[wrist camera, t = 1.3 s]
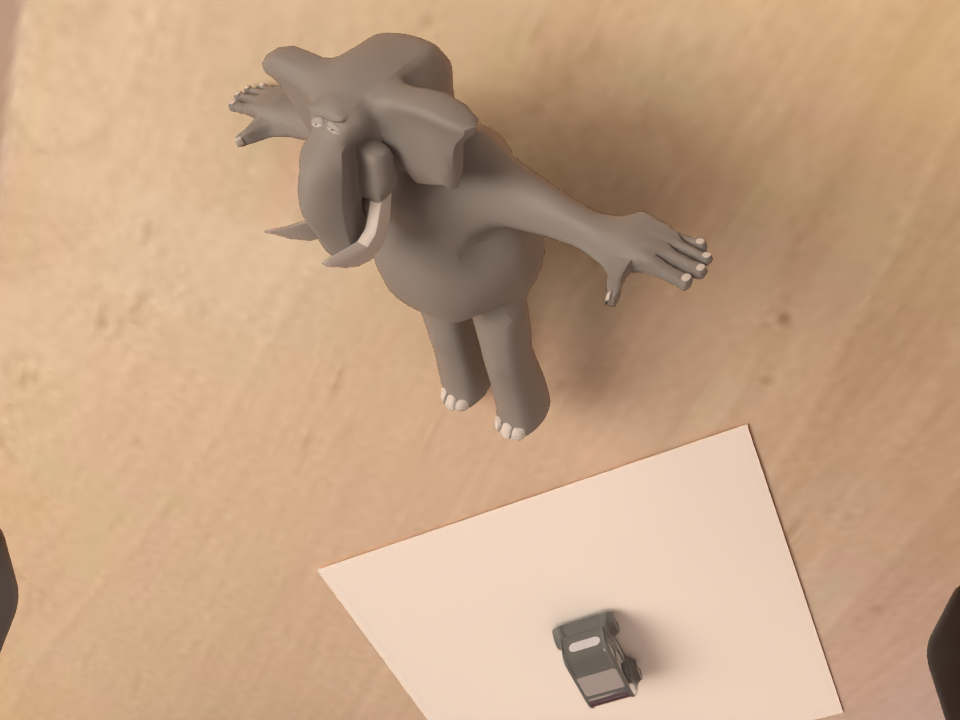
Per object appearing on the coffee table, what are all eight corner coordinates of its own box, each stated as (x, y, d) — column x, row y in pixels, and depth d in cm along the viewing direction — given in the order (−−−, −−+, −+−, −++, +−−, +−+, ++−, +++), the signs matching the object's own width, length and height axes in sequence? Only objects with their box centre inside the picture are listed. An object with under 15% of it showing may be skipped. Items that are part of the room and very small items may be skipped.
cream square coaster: (489, 805, 28) (490, 849, 27) (316, 569, 23) (307, 612, 22) (843, 712, 26) (862, 756, 25) (746, 424, 20) (765, 461, 19)
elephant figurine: (261, 397, 20) (43, 66, 13) (418, 241, 23) (305, -108, 16) (616, 626, 15) (568, 292, 8) (769, 395, 18) (832, -14, 11)
